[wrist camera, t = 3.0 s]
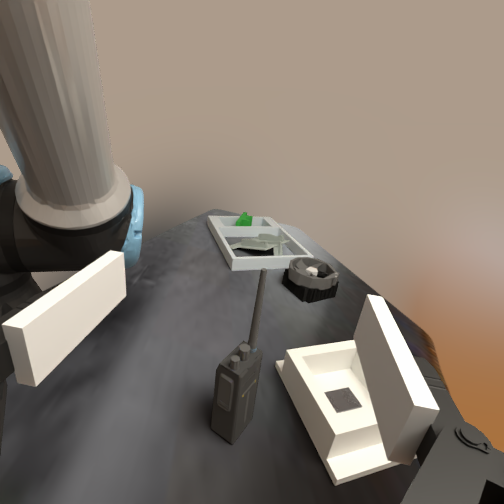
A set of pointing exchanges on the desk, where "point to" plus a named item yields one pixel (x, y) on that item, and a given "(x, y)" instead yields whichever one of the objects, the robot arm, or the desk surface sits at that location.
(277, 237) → the metal bracket
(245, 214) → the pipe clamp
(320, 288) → the cpu cooler
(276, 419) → the desk surface
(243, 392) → the walkie-talkie
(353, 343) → the charging cradle
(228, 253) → the desk organiser
